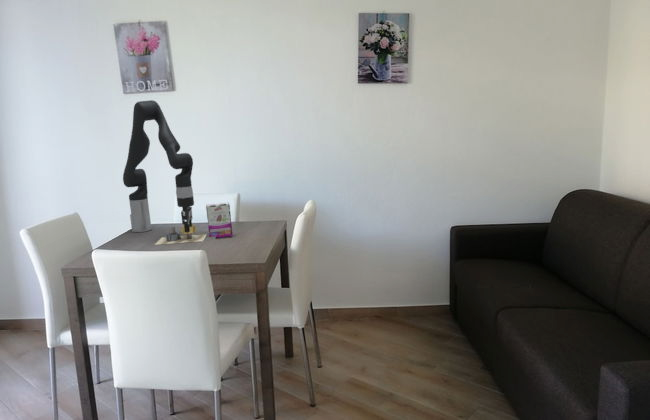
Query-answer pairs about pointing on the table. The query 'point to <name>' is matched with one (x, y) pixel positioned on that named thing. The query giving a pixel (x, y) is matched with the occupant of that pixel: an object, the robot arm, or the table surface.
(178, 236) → the silver gear
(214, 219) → the candy bar box
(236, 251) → the table surface
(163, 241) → the gear board
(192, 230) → the brass gear
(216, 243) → the table surface
